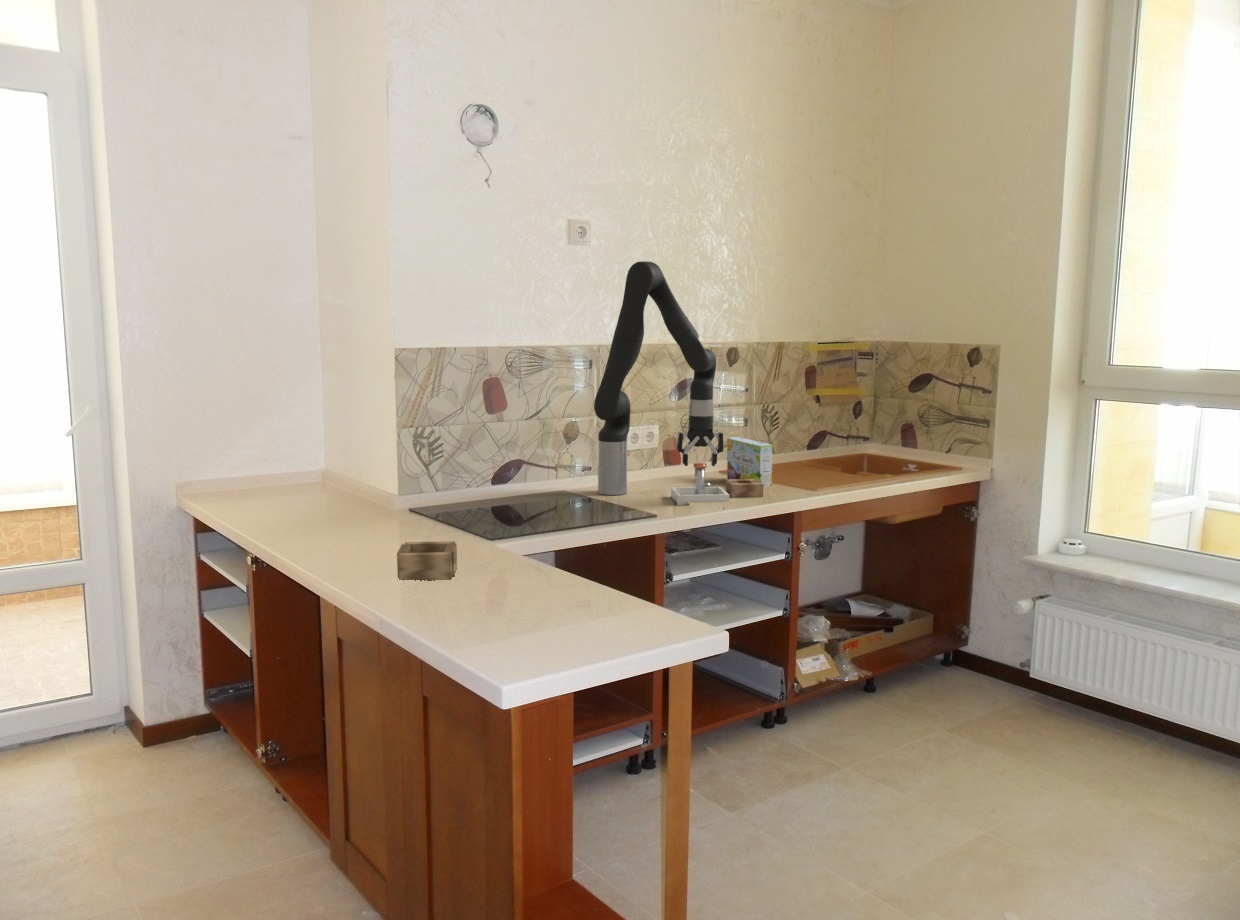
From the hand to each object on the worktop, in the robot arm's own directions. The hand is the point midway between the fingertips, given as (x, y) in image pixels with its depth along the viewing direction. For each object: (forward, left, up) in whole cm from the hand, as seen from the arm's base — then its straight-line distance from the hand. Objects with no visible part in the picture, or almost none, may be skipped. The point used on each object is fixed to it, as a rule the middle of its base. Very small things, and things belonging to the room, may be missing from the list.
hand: (699, 465), depth 299 cm
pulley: (+4, +10, -11) cm, 15 cm away
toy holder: (-75, -84, -11) cm, 113 cm away
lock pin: (0, 0, -10) cm, 10 cm away
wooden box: (+15, +4, -11) cm, 19 cm away
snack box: (+22, +28, -11) cm, 37 cm away
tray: (0, 0, -11) cm, 11 cm away
